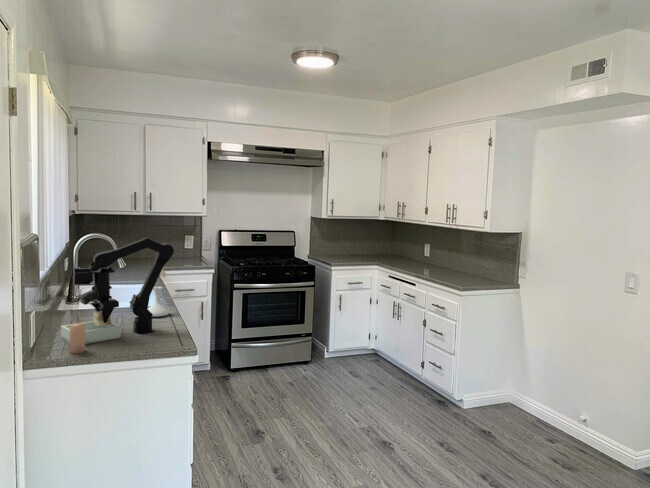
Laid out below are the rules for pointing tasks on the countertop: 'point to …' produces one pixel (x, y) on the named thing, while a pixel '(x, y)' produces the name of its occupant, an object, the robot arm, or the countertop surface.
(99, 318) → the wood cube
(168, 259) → the robot arm
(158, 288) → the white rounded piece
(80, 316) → the countertop surface
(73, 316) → the countertop surface
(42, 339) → the countertop surface
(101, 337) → the tote
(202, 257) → the countertop surface
